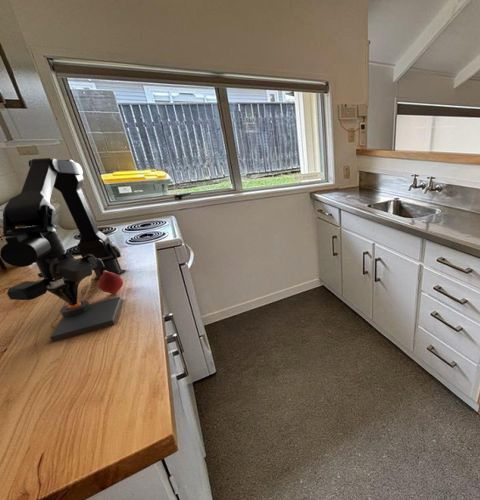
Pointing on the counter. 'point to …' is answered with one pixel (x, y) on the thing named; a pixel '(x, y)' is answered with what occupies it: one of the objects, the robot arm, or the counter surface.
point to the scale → (86, 318)
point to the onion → (110, 282)
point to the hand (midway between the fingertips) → (73, 304)
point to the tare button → (74, 305)
